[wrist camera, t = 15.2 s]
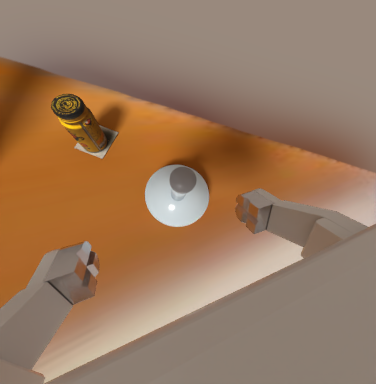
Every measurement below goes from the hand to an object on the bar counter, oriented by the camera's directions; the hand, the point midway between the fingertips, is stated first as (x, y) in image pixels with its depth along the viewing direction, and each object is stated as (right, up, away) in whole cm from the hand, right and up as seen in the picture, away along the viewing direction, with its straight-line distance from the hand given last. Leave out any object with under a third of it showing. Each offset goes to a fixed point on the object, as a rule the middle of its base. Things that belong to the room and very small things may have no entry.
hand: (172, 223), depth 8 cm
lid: (-1, +1, +26) cm, 26 cm away
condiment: (-22, +15, +31) cm, 41 cm away
